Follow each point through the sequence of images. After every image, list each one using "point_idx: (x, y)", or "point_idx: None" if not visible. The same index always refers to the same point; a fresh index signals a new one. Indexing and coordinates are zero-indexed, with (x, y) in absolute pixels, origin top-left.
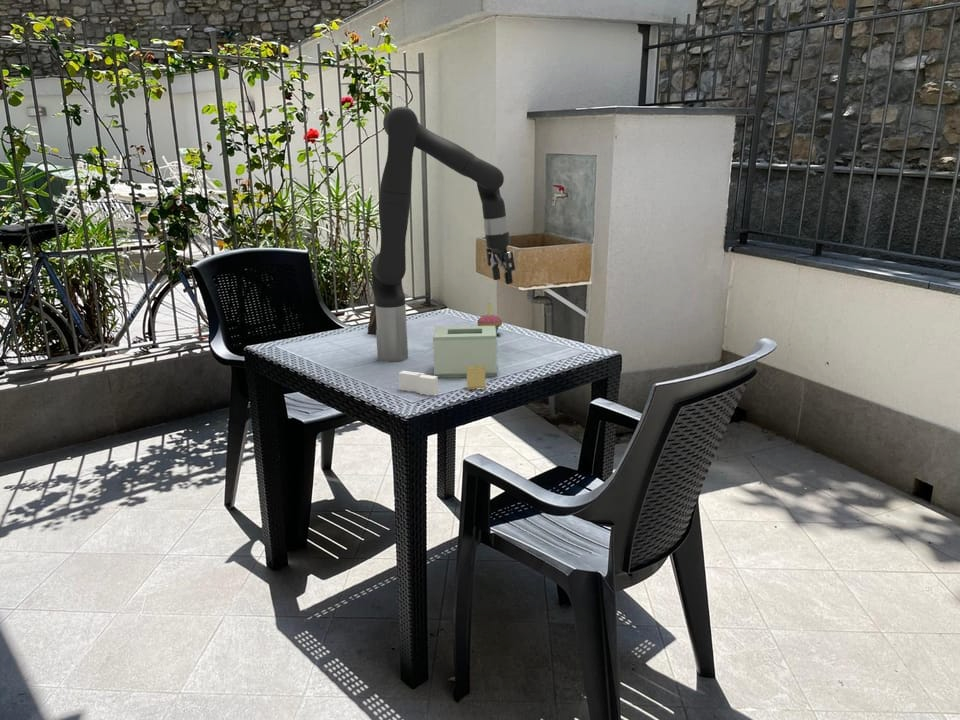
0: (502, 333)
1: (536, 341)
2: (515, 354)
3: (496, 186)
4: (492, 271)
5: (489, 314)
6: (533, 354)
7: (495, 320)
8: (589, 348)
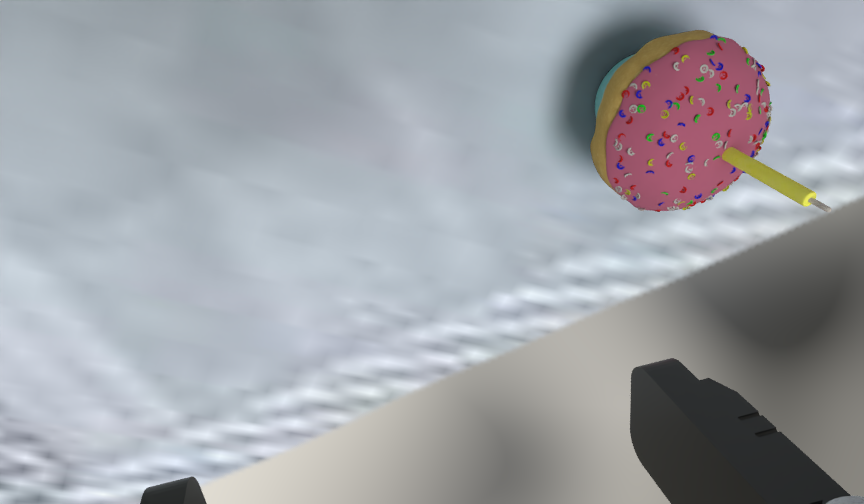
0: None
1: (371, 305)
2: (97, 111)
3: None
4: (779, 457)
5: (728, 152)
6: (74, 220)
7: (625, 162)
8: None
